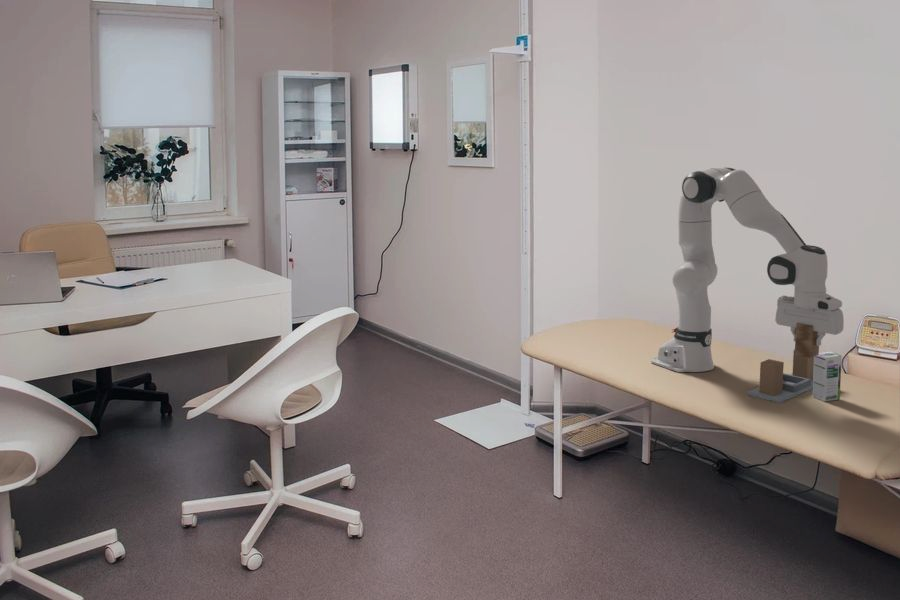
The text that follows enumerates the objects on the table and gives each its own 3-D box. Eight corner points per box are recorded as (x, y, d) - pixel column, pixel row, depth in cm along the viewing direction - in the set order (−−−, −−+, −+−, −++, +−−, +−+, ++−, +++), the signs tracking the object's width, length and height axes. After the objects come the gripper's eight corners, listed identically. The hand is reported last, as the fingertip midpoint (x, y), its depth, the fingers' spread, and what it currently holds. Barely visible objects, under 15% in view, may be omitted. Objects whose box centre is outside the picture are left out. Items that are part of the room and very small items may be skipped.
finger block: (794, 354, 256) (796, 323, 254) (803, 351, 259) (804, 320, 257) (810, 357, 252) (811, 326, 250) (818, 354, 255) (820, 323, 253)
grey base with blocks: (748, 394, 267) (749, 361, 264) (793, 375, 284) (795, 344, 281) (779, 402, 258) (781, 368, 256) (825, 382, 275) (827, 350, 273)
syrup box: (824, 402, 257) (827, 357, 254) (811, 396, 263) (813, 352, 260) (840, 400, 259) (842, 355, 256) (826, 394, 264) (829, 350, 261)
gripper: (772, 296, 258) (770, 339, 261) (837, 306, 242) (834, 351, 245) (783, 293, 262) (781, 335, 265) (847, 302, 246) (844, 347, 249)
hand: (807, 343), depth 255 cm, fingers closed on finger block, 5 cm apart
